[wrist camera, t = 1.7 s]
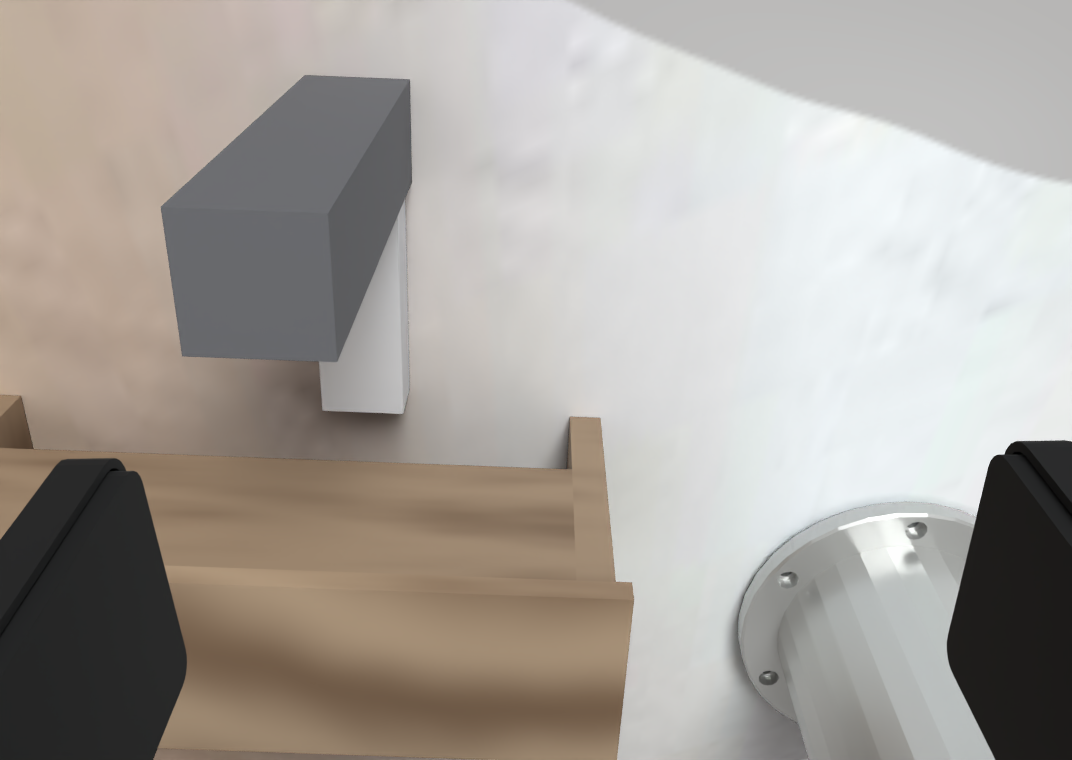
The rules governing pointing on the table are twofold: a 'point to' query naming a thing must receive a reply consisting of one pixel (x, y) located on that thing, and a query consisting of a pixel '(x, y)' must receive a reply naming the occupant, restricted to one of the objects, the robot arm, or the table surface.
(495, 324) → the table surface
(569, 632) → the wooden bench
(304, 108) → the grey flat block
